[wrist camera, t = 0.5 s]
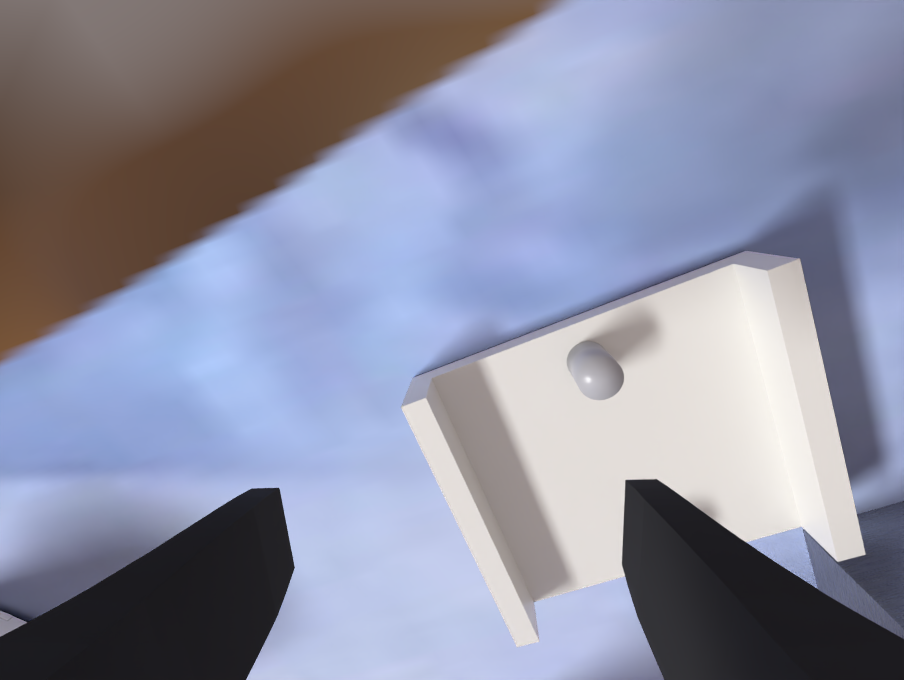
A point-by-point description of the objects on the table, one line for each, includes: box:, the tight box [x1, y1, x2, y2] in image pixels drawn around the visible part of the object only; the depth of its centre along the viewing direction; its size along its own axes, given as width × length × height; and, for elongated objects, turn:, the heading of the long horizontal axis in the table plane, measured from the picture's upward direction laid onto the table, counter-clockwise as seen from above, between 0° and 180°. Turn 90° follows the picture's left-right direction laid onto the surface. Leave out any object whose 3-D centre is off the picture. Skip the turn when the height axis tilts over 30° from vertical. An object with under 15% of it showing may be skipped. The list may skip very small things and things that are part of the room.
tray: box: [401, 251, 866, 647], centre depth 18 cm, size 12×14×3 cm
